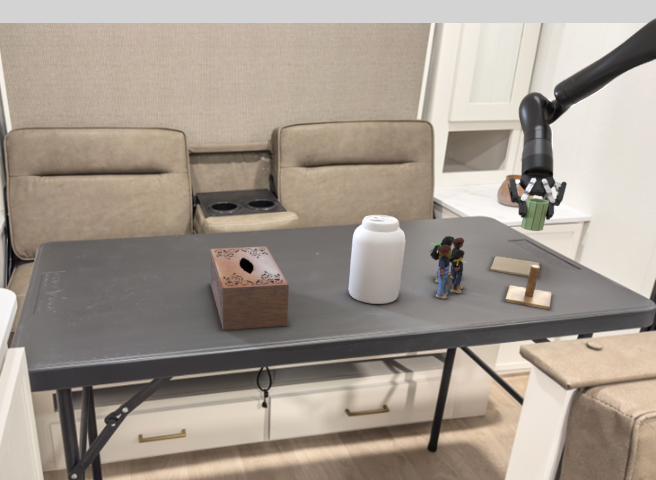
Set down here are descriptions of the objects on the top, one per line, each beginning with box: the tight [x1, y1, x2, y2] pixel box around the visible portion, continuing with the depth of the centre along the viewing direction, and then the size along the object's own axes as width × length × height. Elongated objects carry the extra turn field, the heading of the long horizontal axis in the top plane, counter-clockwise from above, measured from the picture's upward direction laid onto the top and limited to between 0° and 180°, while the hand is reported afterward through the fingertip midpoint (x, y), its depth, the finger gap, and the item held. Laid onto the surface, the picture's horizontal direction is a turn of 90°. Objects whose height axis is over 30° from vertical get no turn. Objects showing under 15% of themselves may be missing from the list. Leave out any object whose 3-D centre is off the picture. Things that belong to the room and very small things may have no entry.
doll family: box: [429, 235, 467, 300], centre depth 150 cm, size 23×9×13 cm, turn 170°
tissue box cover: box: [209, 245, 290, 331], centre depth 138 cm, size 26×14×10 cm, turn 10°
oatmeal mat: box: [489, 255, 541, 278], centre depth 166 cm, size 12×12×1 cm
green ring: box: [520, 197, 549, 232], centre depth 149 cm, size 5×5×7 cm
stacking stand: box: [504, 265, 552, 311], centre depth 144 cm, size 10×10×9 cm
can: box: [348, 214, 406, 305], centre depth 142 cm, size 12×12×20 cm
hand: (536, 217), depth 147 cm, fingers closed on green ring, 5 cm apart
